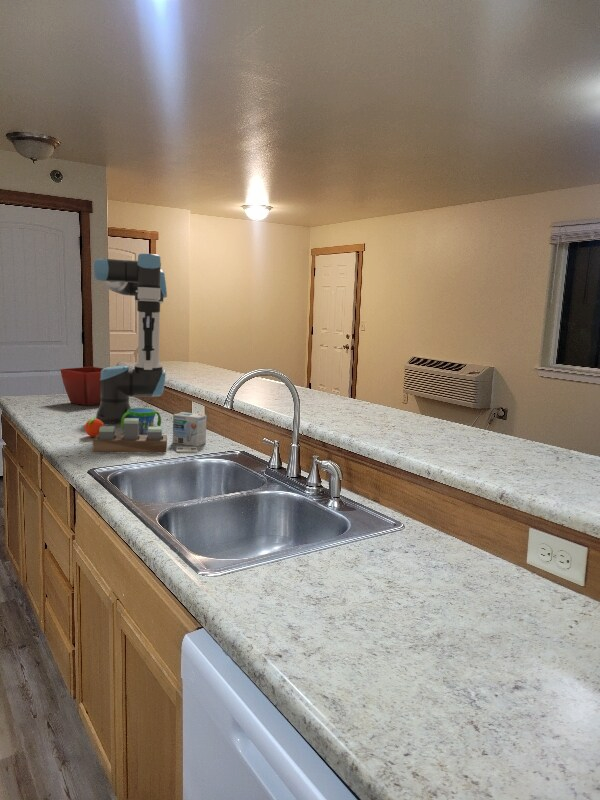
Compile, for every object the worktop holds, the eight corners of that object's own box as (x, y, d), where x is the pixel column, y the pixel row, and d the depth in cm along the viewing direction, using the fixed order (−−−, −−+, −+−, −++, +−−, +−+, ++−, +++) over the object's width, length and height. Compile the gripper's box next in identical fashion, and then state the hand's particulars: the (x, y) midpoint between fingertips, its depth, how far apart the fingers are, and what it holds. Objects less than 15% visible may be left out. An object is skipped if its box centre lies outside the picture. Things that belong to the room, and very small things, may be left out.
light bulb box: (171, 443, 220) (172, 414, 219) (181, 439, 227) (182, 411, 225) (197, 446, 217) (198, 417, 215) (206, 443, 223) (207, 414, 221)
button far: (148, 446, 211) (148, 426, 210) (161, 446, 212) (162, 426, 211) (147, 449, 207) (147, 429, 206) (161, 449, 208) (161, 429, 207)
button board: (97, 445, 211) (97, 434, 210) (166, 445, 215) (167, 435, 215) (92, 452, 201) (92, 440, 200) (166, 452, 206) (166, 441, 205)
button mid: (124, 437, 209) (125, 418, 208) (138, 437, 210) (138, 418, 209) (123, 440, 205) (123, 420, 204) (137, 440, 206) (137, 420, 205)
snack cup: (156, 432, 237) (156, 406, 236) (165, 437, 229) (166, 411, 227) (116, 435, 229) (116, 408, 227) (125, 440, 220) (125, 413, 219)
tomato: (96, 440, 219) (96, 421, 218) (79, 438, 220) (79, 419, 219) (107, 435, 227) (107, 417, 226) (91, 434, 228) (91, 415, 227)
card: (176, 448, 212) (176, 446, 212) (196, 448, 213) (196, 446, 213) (176, 452, 206) (176, 450, 206) (197, 452, 208) (197, 450, 207)
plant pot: (85, 408, 283) (84, 372, 280) (59, 403, 293) (59, 368, 290) (117, 403, 299) (117, 370, 296) (92, 399, 309) (92, 366, 306)
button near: (101, 445, 208) (101, 426, 207) (114, 445, 209) (114, 426, 208) (99, 449, 204) (99, 428, 203) (113, 449, 205) (113, 429, 204)
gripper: (138, 299, 209) (138, 367, 213) (136, 300, 196) (135, 371, 200) (160, 300, 210) (159, 367, 214) (159, 301, 198) (158, 372, 202)
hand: (148, 369), depth 207 cm, fingers closed
